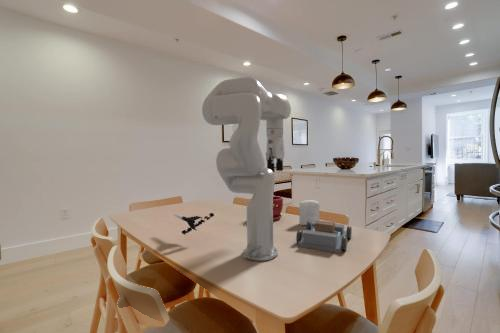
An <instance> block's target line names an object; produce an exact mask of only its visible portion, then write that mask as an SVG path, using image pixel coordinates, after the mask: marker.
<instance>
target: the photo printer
mask: <svg viewBox="0 0 500 333" xmlns="http://www.w3.org/2000/svg"><path fill="white" fill-rule="evenodd" d="M319 202H320V201H317V200H314V199H309V200H308V199H305V200H302V201H300V202H299V219H298V220H299V225H300V226H306V225H307V222H308V221H309V222H312V226H314V224H315V222H316V221H317V220H319V221H320V203H319Z"/></svg>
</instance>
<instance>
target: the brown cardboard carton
mask: <svg viewBox="0 0 500 333" xmlns="http://www.w3.org/2000/svg"><path fill="white" fill-rule="evenodd" d="M315 231H318V232H326V233H333V234H335V221H326V220H320V219H319V220H317V221H316V222H315Z"/></svg>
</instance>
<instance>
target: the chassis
mask: <svg viewBox="0 0 500 333" xmlns="http://www.w3.org/2000/svg"><path fill="white" fill-rule="evenodd" d="M305 227H306V228H305V231H303V230H300V229H298V230H297V232H296V237H295V238H296V239H295V240H296V243H297V244H298V247H300V248H306V249H313V250H318V251H324V252H329V253H336V254H341V253H342V252H343V251H347V248H348V239H352V228H353V227H352V226H350V225H349V226H346V230H345V224H343V223H342V224H341V223H335V234H333V233H326V232H318V231H315V224H314V225H312V222H309V221H308V222H307V225H305Z"/></svg>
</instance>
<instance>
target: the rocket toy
mask: <svg viewBox="0 0 500 333" xmlns="http://www.w3.org/2000/svg"><path fill="white" fill-rule="evenodd" d="M208 215H209V216H208ZM208 215H205V216H204V219H203V217H202V216H199V215H195V216H194V215H193V216H189V217H187V216H184V215H181V214H173V216H174V217H176V218H177V219H179V220H182V221H183V222H184V221H185V222H186V223H187V224H188V226H189V227H188V228H187V229H183V230H182V231H181V234H183V235H186V234H188V233H189V232H192V231H193V230H194V231H196V232H197V231H198V230H197V229H196V228H197V227H199V226H201V225H202V224H203V223H205V222H206V221H208V220H210V219H211V218H213V217H215V213H213V212H210V213H209V214H208ZM199 219H200V220H199ZM197 220H199V221H197ZM205 220H206V221H205ZM196 221H197V222H196Z"/></svg>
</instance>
